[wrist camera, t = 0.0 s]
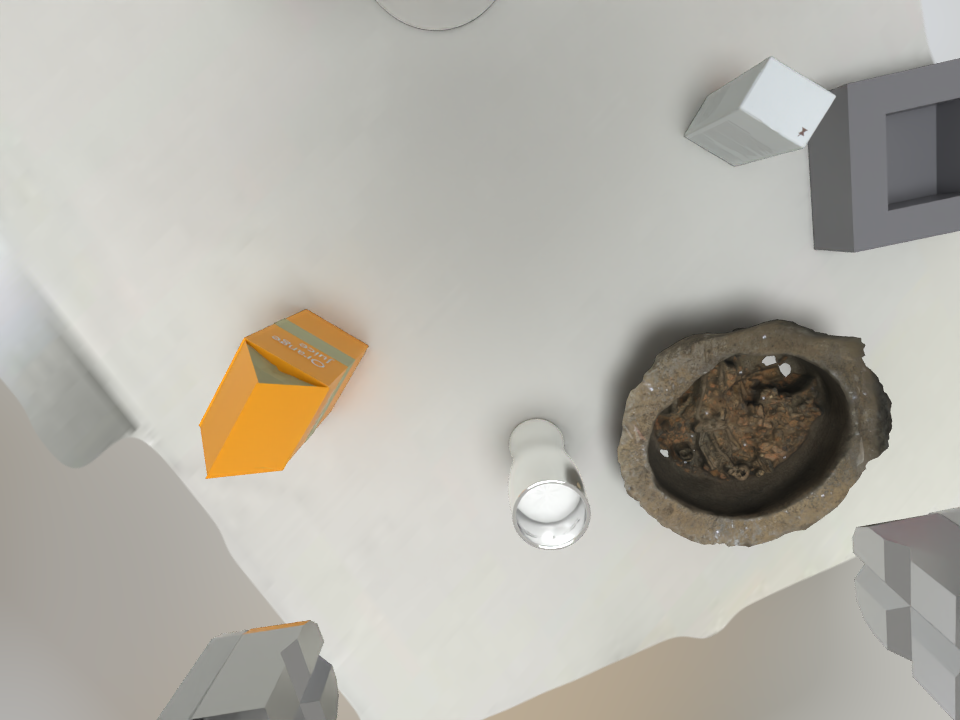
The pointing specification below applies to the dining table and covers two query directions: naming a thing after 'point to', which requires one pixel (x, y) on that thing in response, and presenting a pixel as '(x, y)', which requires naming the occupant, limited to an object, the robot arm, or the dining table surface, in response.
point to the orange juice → (276, 394)
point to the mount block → (888, 160)
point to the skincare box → (760, 114)
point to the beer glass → (545, 488)
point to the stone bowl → (751, 432)
